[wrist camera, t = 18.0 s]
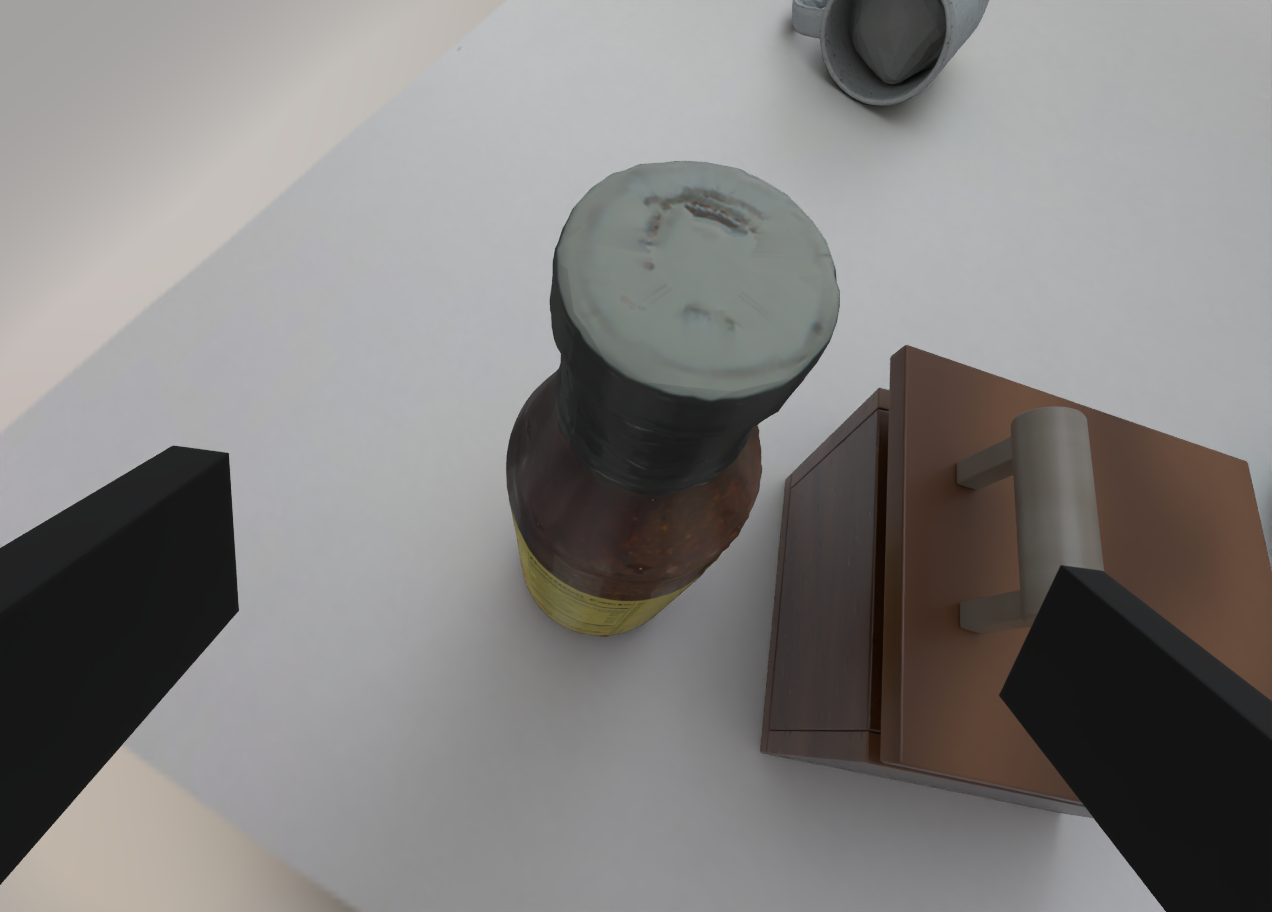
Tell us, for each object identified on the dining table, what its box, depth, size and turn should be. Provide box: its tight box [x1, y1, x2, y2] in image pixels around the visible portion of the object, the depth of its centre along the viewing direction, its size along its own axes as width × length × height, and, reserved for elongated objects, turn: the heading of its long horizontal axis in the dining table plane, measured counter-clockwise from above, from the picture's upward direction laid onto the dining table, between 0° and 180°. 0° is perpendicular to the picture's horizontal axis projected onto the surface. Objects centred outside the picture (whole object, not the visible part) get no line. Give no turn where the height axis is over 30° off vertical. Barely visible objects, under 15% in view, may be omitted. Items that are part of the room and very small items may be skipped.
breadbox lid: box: [880, 345, 1272, 805], centre depth 17 cm, size 13×12×4 cm
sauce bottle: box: [506, 161, 840, 636], centre depth 18 cm, size 7×6×20 cm
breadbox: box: [760, 388, 1093, 818], centre depth 24 cm, size 13×12×9 cm
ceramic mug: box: [792, 0, 989, 106], centre depth 39 cm, size 11×8×8 cm
